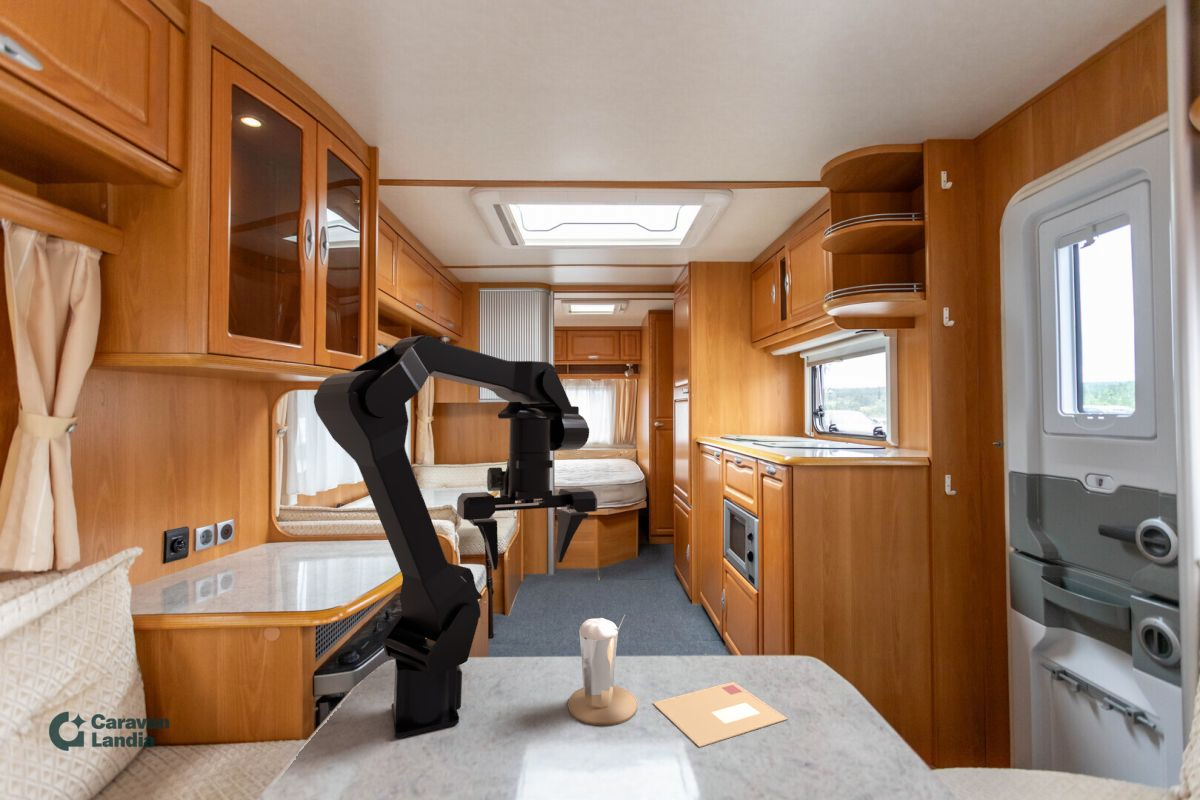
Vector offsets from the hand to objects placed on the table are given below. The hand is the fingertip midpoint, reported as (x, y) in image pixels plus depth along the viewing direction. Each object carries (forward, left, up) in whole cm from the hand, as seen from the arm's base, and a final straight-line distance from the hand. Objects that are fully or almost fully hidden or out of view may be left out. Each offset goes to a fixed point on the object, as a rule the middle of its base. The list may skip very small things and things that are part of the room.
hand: (527, 565), depth 70 cm
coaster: (+5, -14, -13) cm, 20 cm away
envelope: (+16, -20, -13) cm, 29 cm away
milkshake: (+5, -14, -13) cm, 19 cm away
